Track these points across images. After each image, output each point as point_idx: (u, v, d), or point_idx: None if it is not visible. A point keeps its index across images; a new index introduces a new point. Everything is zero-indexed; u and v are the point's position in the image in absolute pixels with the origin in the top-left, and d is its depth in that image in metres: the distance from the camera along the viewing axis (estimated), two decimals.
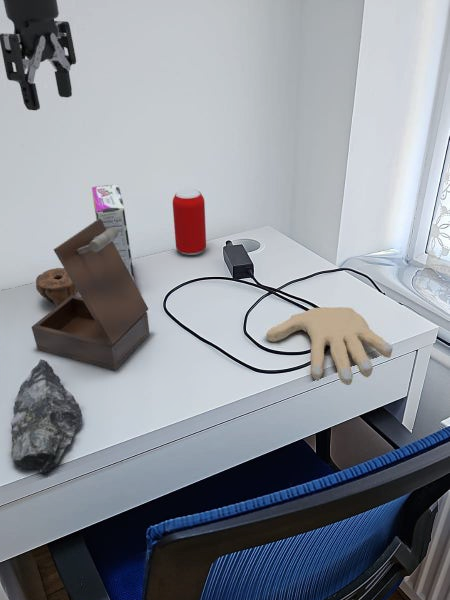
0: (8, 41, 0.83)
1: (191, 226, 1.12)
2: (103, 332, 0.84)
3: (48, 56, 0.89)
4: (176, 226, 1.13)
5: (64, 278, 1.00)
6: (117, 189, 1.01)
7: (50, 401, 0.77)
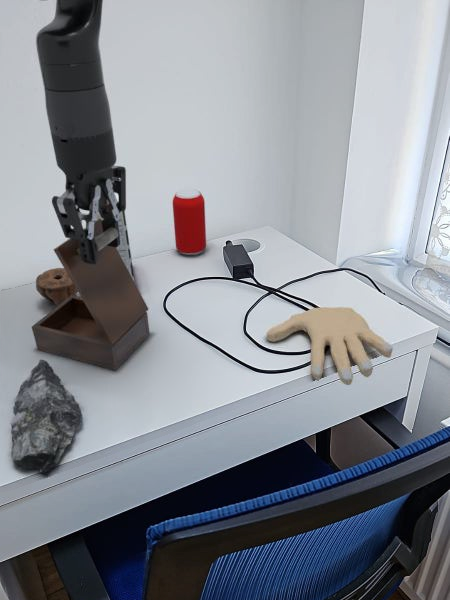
0: (63, 207, 0.71)
1: (191, 226, 1.12)
2: (103, 332, 0.84)
3: (102, 203, 0.77)
4: (176, 226, 1.13)
5: (64, 278, 1.00)
6: None
7: (50, 401, 0.77)
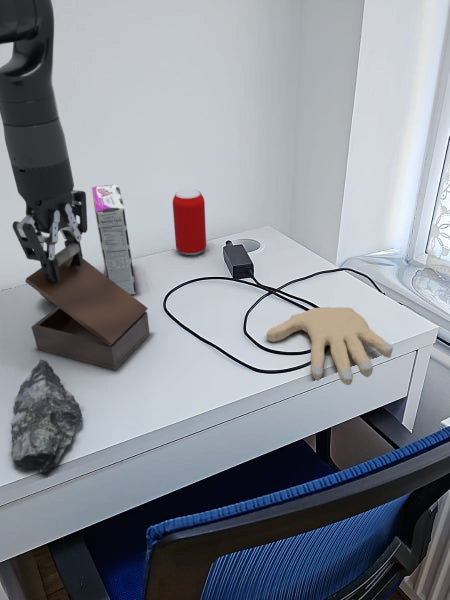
0: (23, 231, 0.77)
1: (191, 226, 1.12)
2: (99, 335, 0.85)
3: (62, 226, 0.82)
4: (176, 226, 1.13)
5: None
6: (117, 189, 1.01)
7: (50, 401, 0.77)
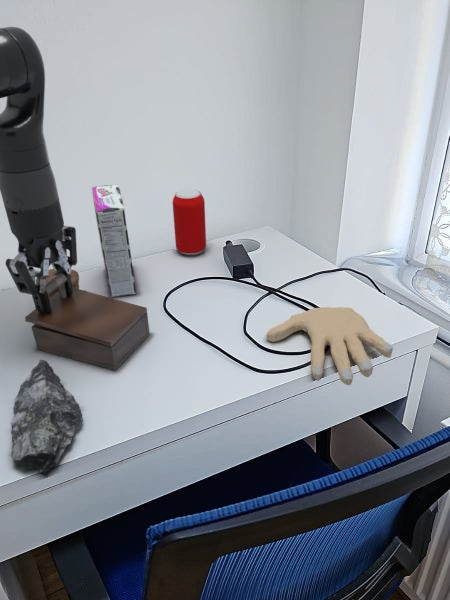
0: (15, 269, 0.81)
1: (191, 226, 1.12)
2: (98, 341, 0.86)
3: (53, 260, 0.87)
4: (176, 226, 1.13)
5: None
6: (117, 189, 1.01)
7: (50, 401, 0.77)
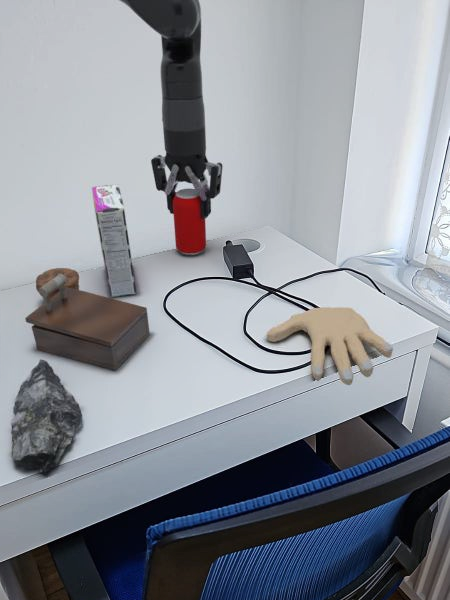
0: None
1: (191, 226, 1.12)
2: (98, 341, 0.86)
3: (186, 180, 1.08)
4: (176, 226, 1.13)
5: None
6: (117, 189, 1.01)
7: (50, 401, 0.77)
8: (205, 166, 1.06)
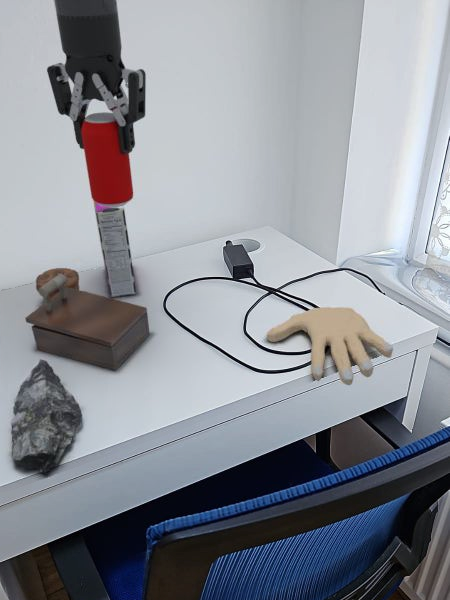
0: None
1: (107, 164, 0.81)
2: (98, 341, 0.86)
3: (97, 97, 0.77)
4: (88, 165, 0.82)
5: None
6: None
7: (50, 401, 0.77)
8: (120, 74, 0.74)
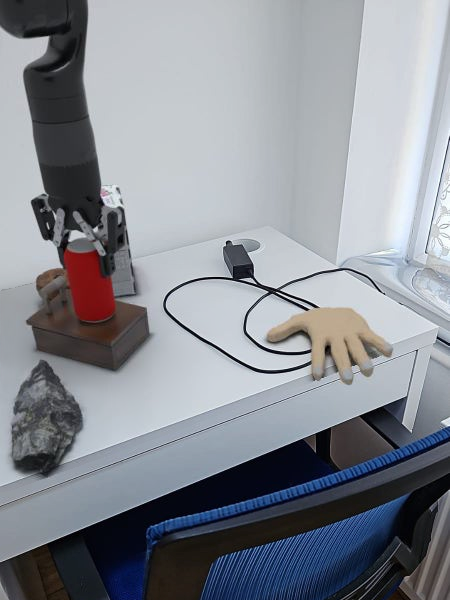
0: None
1: (89, 288, 0.84)
2: (98, 341, 0.86)
3: (78, 229, 0.80)
4: (71, 287, 0.85)
5: None
6: (117, 189, 1.01)
7: (50, 401, 0.77)
8: (100, 211, 0.77)
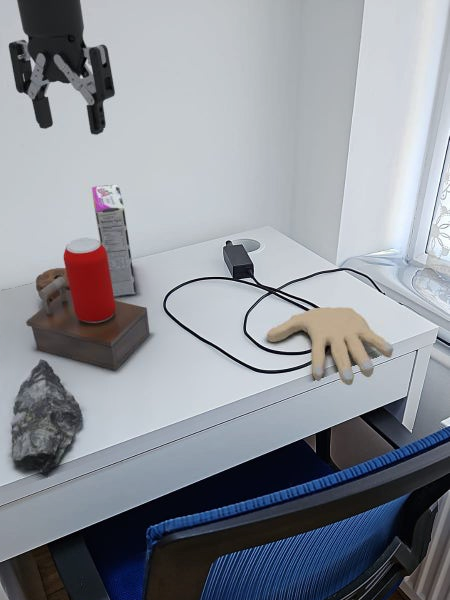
0: None
1: (88, 288, 0.84)
2: (98, 341, 0.86)
3: (60, 79, 0.76)
4: (71, 287, 0.85)
5: (64, 278, 1.00)
6: (117, 189, 1.01)
7: (50, 401, 0.77)
8: (82, 55, 0.73)
